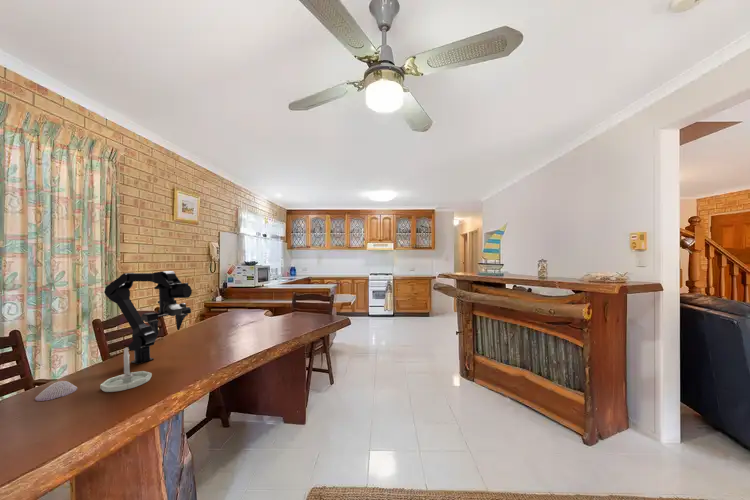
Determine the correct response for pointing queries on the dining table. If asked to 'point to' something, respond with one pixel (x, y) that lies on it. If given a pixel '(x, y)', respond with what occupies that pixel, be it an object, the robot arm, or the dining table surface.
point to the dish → (118, 385)
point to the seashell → (56, 391)
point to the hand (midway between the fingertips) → (167, 332)
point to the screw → (126, 368)
